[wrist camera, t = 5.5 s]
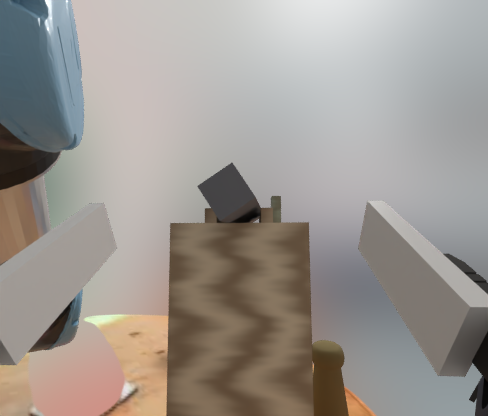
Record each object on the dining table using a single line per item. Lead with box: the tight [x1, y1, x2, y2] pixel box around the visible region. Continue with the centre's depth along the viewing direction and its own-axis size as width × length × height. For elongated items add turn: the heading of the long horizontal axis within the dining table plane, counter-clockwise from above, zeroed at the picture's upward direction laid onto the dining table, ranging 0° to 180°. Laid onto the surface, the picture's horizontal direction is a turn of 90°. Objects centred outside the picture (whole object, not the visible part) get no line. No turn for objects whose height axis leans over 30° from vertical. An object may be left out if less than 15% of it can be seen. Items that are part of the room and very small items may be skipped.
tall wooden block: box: [167, 196, 314, 416], centre depth 32 cm, size 14×14×34 cm
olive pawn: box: [312, 340, 349, 416], centre depth 41 cm, size 6×6×11 cm
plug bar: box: [198, 163, 261, 223], centre depth 33 cm, size 4×24×4 cm
